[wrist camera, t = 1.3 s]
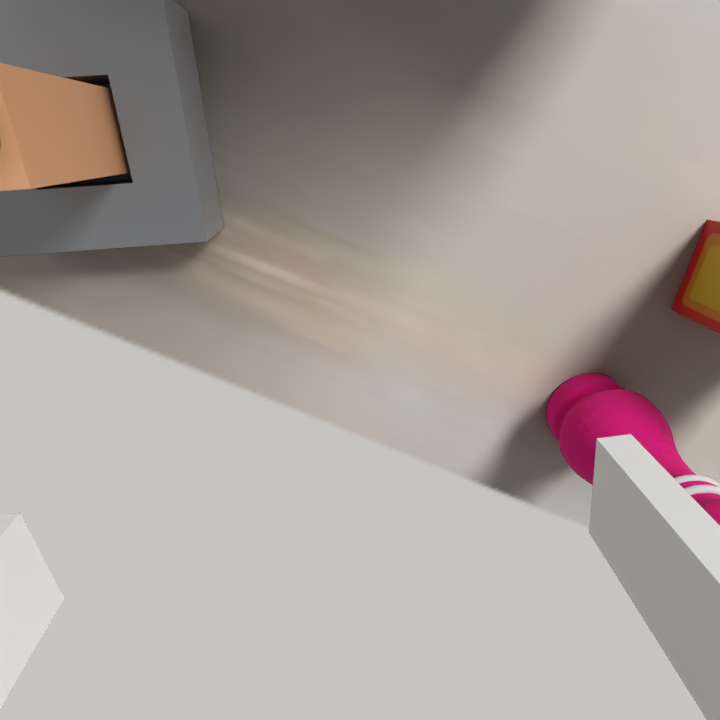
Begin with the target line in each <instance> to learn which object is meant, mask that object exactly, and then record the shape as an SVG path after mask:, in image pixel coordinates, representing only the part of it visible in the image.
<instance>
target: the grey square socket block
mask: <svg viewBox="0 0 720 720" xmlns="http://www.w3.org/2000/svg"><path fill="white" fill-rule="evenodd" d="M0 63H3V64H7V65H12V66H16V67H20V68H24V69H29V70H33V71H37V72H42V73H46V74H50V75H55V76H59V77H63V78H68V79H72V80H76V81H80V82H85V83H89V84H93V85H98V86H102V87H106V88H111V90H112V94H113V98H114V103H115V107H116V111H117V116H118V120H119V124H120V129H121V133H122V137H123V142H124V146H125V151H126V155H127V159H128V164H129V168H130V172H131V173H125V174H119V175H113V176H106V177H100V178H94V179H88V180H82V181H76V182H70V183H64V184H57V185H51V186H45V187H39V188H33V189H21V190H7V191H0V257H2V256H16V255H30V254H43V253H57V252H71V251H84V250H98V249H112V248H125V247H139V246H153V245H166V244H180V243H194V242H207V241H208V240H210V239H211V238H212V237H213V236H215V235H216V234H217V233H218V232H219V231H221V230H222V229H223V228H224V224H223V218H222V212H221V206H220V200H219V194H218V188H217V182H216V176H215V170H214V164H213V158H212V152H211V146H210V140H209V134H208V128H207V122H206V116H205V111H204V105H203V99H202V93H201V87H200V81H199V75H198V69H197V63H196V57H195V51H194V45H193V39H192V33H191V27H190V21H189V15H188V12H187V11H186V10H185V9H184V8H182V7H181V6H180V5H179V4H178V3H177V2H176V1H175V0H0Z"/></svg>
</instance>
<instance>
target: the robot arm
mask: <svg viewBox="0 0 720 720" xmlns="http://www.w3.org/2000/svg"><path fill="white" fill-rule="evenodd" d="M589 533H590V535H591V536H592V538H593V540H594V541H595V543H596V544H597V546H598V547H599V549H600V551H601V552H602V554H603V555H604V557H605V558H606V560H607V561H608V563H609V565H610V566H611V568H612V570H613V571H614V573H615V574H616V576H617V578H618V579H619V581H620V582H621V584H622V586H623V587H624V589H625V590H626V592H627V594H628V595H629V597H630V598H631V600H632V602H633V603H634V604H635V606H636V608H637V609H638V611H639V613H640V614H641V616H642V617H643V619H644V621H645V622H646V624H647V625H648V627H649V629H650V630H651V632H652V633H653V635H654V636H655V638H656V640H657V641H658V643H659V644H660V646H661V647H662V649H663V651H664V652H665V654H666V656H667V657H668V659H669V660H670V662H671V663H672V665H673V667H674V668H675V670H676V671H677V673H678V675H679V676H680V678H681V679H682V681H683V683H684V684H685V686H686V687H687V689H688V690H689V692H690V694H691V695H692V697H693V698H694V700H695V701H696V703H697V705H698V706H699V708H700V710H701V711H702V713H703V714H704V716H705V718H706V719H707V720H720V525H719V524H718V523H717V522H716V521H715V520H714V519H713V518H712V517H711V516H710V515H709V514H708V513H707V512H706V511H705V510H704V509H703V508H702V507H701V506H700V505H699V504H698V503H697V502H696V501H695V500H694V499H693V498H692V497H691V496H690V494H689V493H688V492H687V491H686V490H685V489H684V488H683V487H682V486H681V485H680V484H679V483H678V482H677V481H676V480H675V479H674V478H673V477H672V476H671V475H670V474H669V473H668V472H667V471H666V470H665V469H664V468H663V467H662V466H661V465H660V464H659V463H658V462H657V460H656V459H655V458H654V457H653V456H652V455H651V454H650V453H649V452H648V451H647V450H646V449H645V448H644V447H643V446H642V445H641V444H640V443H639V442H638V441H637V440H636V439H635V438H634V437H633V436H632V435H631V434H628V435H620V436H612V437H604V438H597V441H596V453H595V465H594V477H593V489H592V502H591V514H590V526H589ZM63 600H64V597H63V595H62V593H61V591H60V589H59V587H58V585H57V583H56V581H55V579H54V577H53V575H52V573H51V572H50V570H49V568H48V566H47V564H46V562H45V560H44V558H43V556H42V554H41V552H40V550H39V548H38V546H37V544H36V542H35V541H34V539H33V537H32V535H31V533H30V531H29V529H28V527H27V525H26V523H25V521H24V519H23V517H22V515H21V513H15V514H6V515H0V709H1V707H2V705H3V704H4V702H5V700H6V698H7V697H8V695H9V693H10V691H11V690H12V688H13V686H14V685H15V683H16V681H17V679H18V678H19V676H20V674H21V673H22V671H23V669H24V667H25V666H26V663H27V662H28V660H29V659H30V657H31V655H32V653H33V652H34V650H35V648H36V647H37V645H38V643H39V642H40V640H41V638H42V636H43V635H44V633H45V631H46V630H47V628H48V626H49V624H50V622H51V621H52V619H53V617H54V616H55V614H56V612H57V611H58V609H59V607H60V605H61V604H62V602H63Z"/></svg>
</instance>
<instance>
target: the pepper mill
mask: <svg viewBox="0 0 720 720" xmlns="http://www.w3.org/2000/svg"><path fill="white" fill-rule="evenodd" d="M546 420H547V423H548V426H549V428H550V429H551V431H552V432H553V434H554V435H555V436H556V438H557V439H558V440H559V443H560V450H561V452H562V455H563V457H564V459H565V461H566V462H567V463H568V464H569V466H570V467H571V468H572V469H573V470H574V471H575V472H576V473H577V474H578V475H579V476H580V477H582V478H583V479H585V480H586V481H587V482H589V483H590V484H592V485H593V477H594V465H595V453H596V441H597V438H604V437H612V436H620V435H628V434H631V435H632V436H633V437H634V438H635V439H636V440H637V441H638V442H639V443H640V444H641V445H642V446H643V447H644V448H645V449H646V450H647V451H648V452H649V453H650V454H651V455H652V456H653V457H654V458H655V459H656V460H657V462H658V463H659V464H660V465H661V466H662V467H663V468H664V469H665V470H666V471H667V472H668V473H669V474H670V475H671V476H672V477H673V478H674V479H675V480H676V481H677V482H678V483H679V484H680V485H681V486H682V487H683V488H684V489H685V490H686V491H687V492H688V493H689V494H690V496H691V497H692V498H693V499H694V500H695V501H696V502H697V503H698V504H699V505H700V506H701V507H702V508H703V509H704V510H705V511H706V512H707V513H708V514H709V515H710V516H711V517H712V518H713V519H714V520H715V521H716V522H717V523H718V524H719V525H720V485H719V484H718V483H717V482H716V481H714V480H713V479H711V478H709V477H706V476H701V475H696V474H695V473H693V472H692V471H691V469H690V468H689V467H688V466H687V465H686V464H685V463H684V462H683V460H682V459H681V457H680V455H679V454H678V452H677V450H676V447H675V443H674V440H673V436H672V432H671V429H670V427H669V425H668V423H667V421H666V420H665V418H664V416H663V415H662V413H661V412H660V411H659V410H658V409H657V408H656V407H655V406H654V405H653V404H652V403H651V402H650V401H649V400H648V399H647V398H645V397H644V396H642V395H640V394H638V393H636V392H633V391H629V390H625V389H624V388H623V387H622V386H621V385H619V384H618V383H617V382H616V381H615V380H613V379H612V378H610V377H609V376H606V375H603V374H598V373H588V374H583V375H579V376H576V377H573V378H571V379H569V380H568V381H566V382H565V383H563V384H562V385H560V386H559V388H558V389H557V390H556V391H555V392H554V393H553V395H552V397H551V398H550V400H549V402H548V405H547V410H546Z"/></svg>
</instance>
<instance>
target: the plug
mask: <svg viewBox="0 0 720 720" xmlns="http://www.w3.org/2000/svg"><path fill="white" fill-rule="evenodd" d="M125 173H131V172H130V168H129V164H128V159H127V155H126V151H125V146H124V142H123V137H122V133H121V129H120V124H119V120H118V116H117V111H116V107H115V103H114V98H113V94H112V90H111V88H106V87H102V86H98V85H93V84H89V83H85V82H80V81H76V80H72V79H68V78H63V77H59V76H55V75H50V74H46V73H42V72H37V71H33V70H29V69H24V68H20V67H16V66H12V65H7V64H3V63H0V191H7V190H21V189H33V188H39V187H45V186H51V185H57V184H64V183H70V182H76V181H82V180H88V179H94V178H100V177H106V176H113V175H119V174H125Z"/></svg>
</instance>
